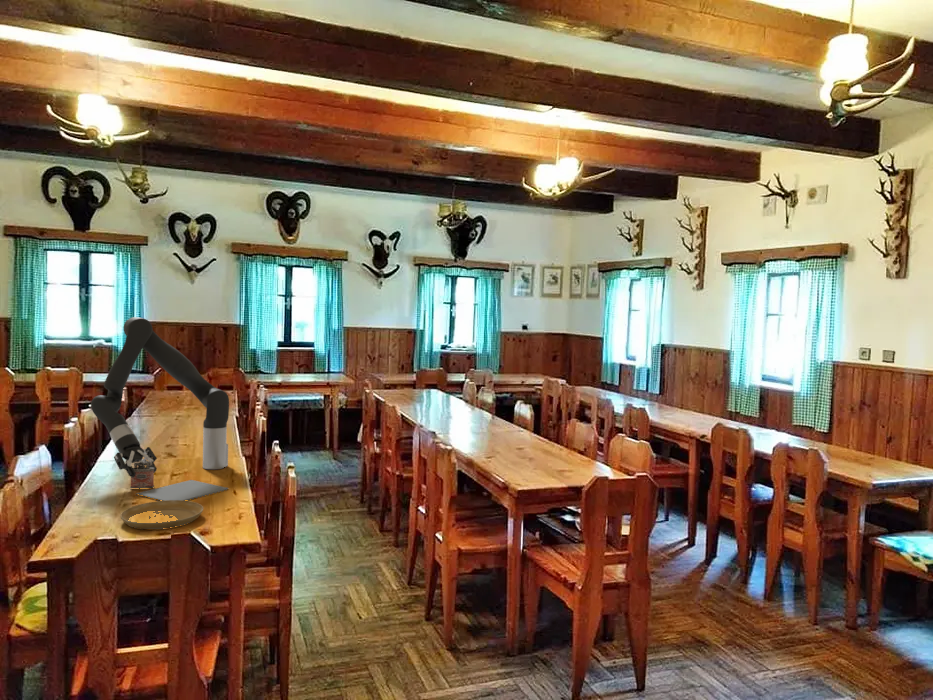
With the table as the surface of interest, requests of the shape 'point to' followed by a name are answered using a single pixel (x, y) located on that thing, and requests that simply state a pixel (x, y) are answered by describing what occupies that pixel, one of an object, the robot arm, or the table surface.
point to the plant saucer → (164, 513)
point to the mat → (183, 491)
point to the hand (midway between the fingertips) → (144, 474)
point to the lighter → (143, 475)
